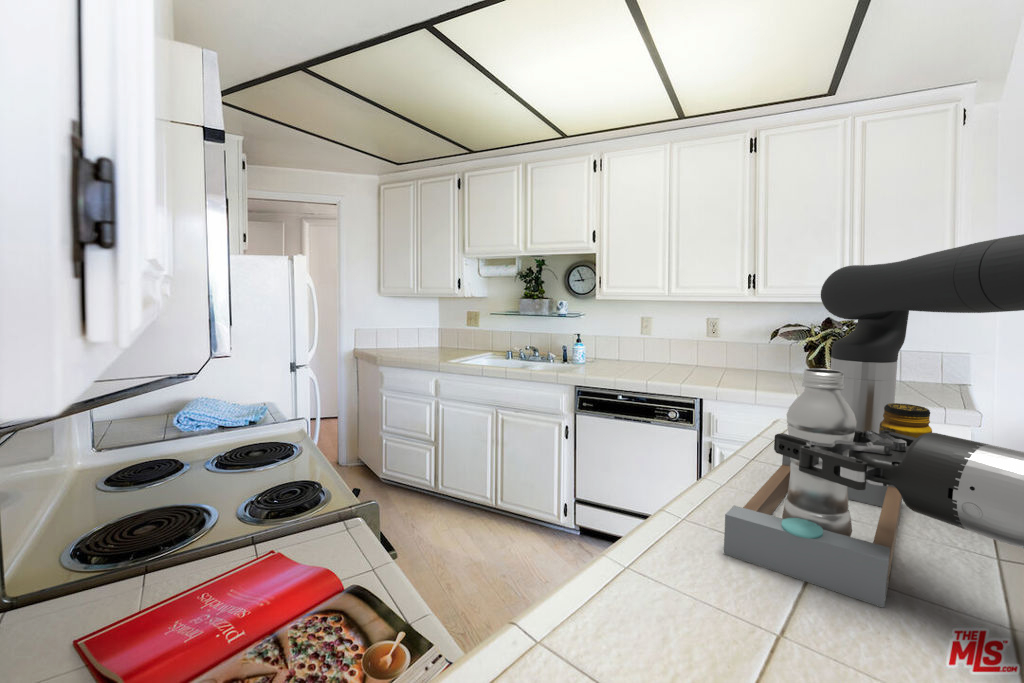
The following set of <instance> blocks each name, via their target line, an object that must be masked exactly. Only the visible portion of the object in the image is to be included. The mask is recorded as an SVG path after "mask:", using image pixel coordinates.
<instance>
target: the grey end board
mask: <svg viewBox="0 0 1024 683" xmlns="http://www.w3.org/2000/svg"><path fill="white" fill-rule="evenodd" d="M723 533H724V534H723V535H724V537H723V538H724V539H723V554H724V555H727V556H730V557H732V558H735V559H738V560H741V561H744V562H748V563H750V564H753V565H756V566H759V567H762V568H765V569H769V570H771V571H772V572H773V571H774V572H776V573H780V574H782V575H786V576H789V577H791V578H795V579H798V580H800V581H802V582H806V583H808V584H813V585H814V586H815V585H816V586H818V587H820V588H824V589H827V590H829V591H833V592H836V593H839V594H841V595H844V596H847V597H850V598H853V599H856V600H859V601H862V602H865V603H869V604H871V605H874V606H877V607H880V608H883V609H885V604H886V598H887V595H888V594H887V593H888V588H887V582H888V569H889V556H890V548H889V547H886V546H882V545H878V544H875V543H873V542H870V541H866V540H863V539H860V538H856V537H849V536H845V535H841V534H838V533H834V532H830V531H827V530H823V529H822V528H821V527H820V526H819V525H817V524H815V523H813V522H811V521H808V520H804V519H799V518H786V519H782V517H779V516H774V515H772V514H771V515H768V514H764V513H760V512H757V511H753V510H749V509H746V508H743V507H741V506H737V505H733V506H732V507H731V508H730V509H729V510H727V512H726V513H725V515H724V532H723ZM888 583H889V582H888Z"/></svg>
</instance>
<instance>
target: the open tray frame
mask: <svg viewBox="0 0 1024 683" xmlns="http://www.w3.org/2000/svg"><path fill="white" fill-rule="evenodd" d="M790 472H791V467H790V466H787V465H782V464H780V466H779V467H778V469H776V471H775V472H774V473H773V474H772V475H771V476H770V477H769V478H768V479H767V481H766V482H765V483H764V484H763V485H762V486H761V487H760V488H759V489H758V491H756V493H754V495H753V496H752V497H751V498H750V499H749V501H747V503H745V505H744V506H743V507H742V508H746V509H749V510H753V511H757V512H760V513H764V514H768V515H771V516H772V514H773V513H774V512H775V510H776V509H777V508H778V507H779V505H780V504H781V502H782V501H783V500H784V498H785V497H787V494H788V487H789V480H790ZM901 500H902V501H903V499H902V496H901V494H900V493H899V491H898V490H897V488H894V487H889V486H888V487H887V491H886V495H885V499H884V503H883V507H881V510H880V511H881V512H880V514H879V520H878V523H877V526H876V531H875V535H874V538H873V542H872V543H875V544H878V545H882V546H886V547H889V548H890V556H889V569H888V582H887V589H888V587H889V581H890V576H891V571H892V563H893V559H894V552H895V546H896V542H897V536H898V529H899V528H898V527H899V524H900V517H901V512H902V506H901Z"/></svg>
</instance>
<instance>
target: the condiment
mask: <svg viewBox="0 0 1024 683" xmlns="http://www.w3.org/2000/svg"><path fill="white" fill-rule="evenodd" d="M930 411H931V410H930V409H929V408H927V407H925V406H921V405H915V404H911V403H910V404H909V403H899V402H898V403H897V402H896V403H891V404H887V405H885V407H884V414H883V417H884V420H883V421H882V422H881V423H880V427H879V434H880V431H884V430H888V431H890V432H894V433H898V434H902V435H906V436H910V437H914V438H918V437H919V436H921V435H923V434H926V433H933V429H932V427H931V426H930V425H929V424H930V423H931V421H930V417H931V416H930V415H931V412H930Z"/></svg>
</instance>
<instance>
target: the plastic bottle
mask: <svg viewBox="0 0 1024 683" xmlns="http://www.w3.org/2000/svg"><path fill="white" fill-rule="evenodd" d="M843 373H844V372H842V371H838V370H831V368H830V369H829V368H828V369H827V368H805V369H804V370H803V378H802V381H801V386H802V387H803V388H804V389H803V392H802V393H800V395H798V397H797V398H795V399H794V401H793V402H792V404H791V405H790V406H789V407H788V410H787V411H786V412H787V413H786V423H787V435H791V436H794V437H798V438H801V439H805V440H808V441H814V442H818V443H827V444H832V443H833V442H834V441H836V440H842V441H850V442H853V439H854V435H855V432H854V431H855V430H856V423H857V421H856V418H855V415H854V413H853V411H852V409H851V408H850V406H849V405H848V403H847V402H846V401H845V399H844V398H843V397H842V395H841V392H840V390H842V389H844V384H843V379H844V374H843ZM849 450H850V449H847V450H845V451H844V452H843V456H847V457H849ZM829 452H830V451H829ZM790 460H791V463H790V467H791V472H790V480H789V487H788V493H787V494H786V499H785V502H784V506H783V511H782V517H781V518H782V519H786V518H799V519H804V520H808V521H811V522H813V523H815V524H817V525H819V526H820V527H821V528H822V529H823V530H827V531H830V532H834V533H838V534H841V535H845V536H849V537H851V536H852V533H853V525H852V524H853V523H852V518H851V514H850V510H849V499H848V490H847V486H844V485H841V484H838V483H835V482H832V481H829V480H826V479H823V478H820V477H817V476H814V475H810V474H807V473H804V472H801V471H799V460H796V459H793V458H790ZM819 461H822V459H821V458H820V457H819Z"/></svg>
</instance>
